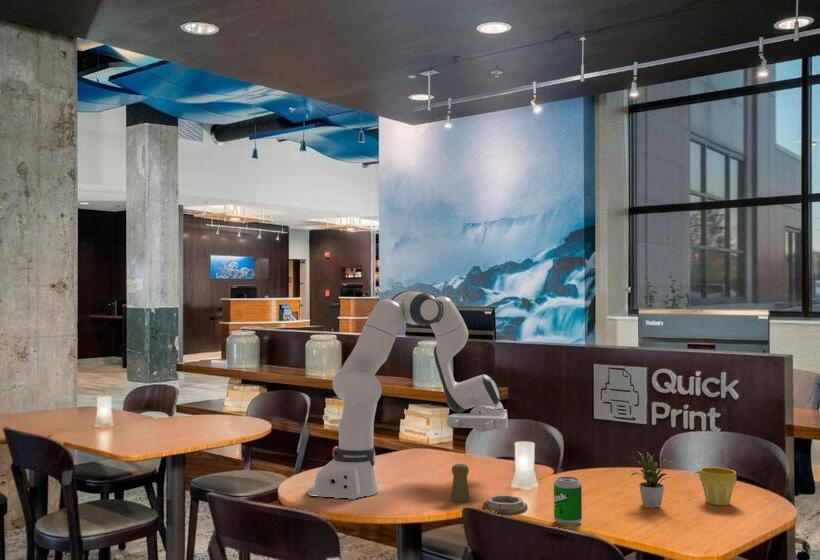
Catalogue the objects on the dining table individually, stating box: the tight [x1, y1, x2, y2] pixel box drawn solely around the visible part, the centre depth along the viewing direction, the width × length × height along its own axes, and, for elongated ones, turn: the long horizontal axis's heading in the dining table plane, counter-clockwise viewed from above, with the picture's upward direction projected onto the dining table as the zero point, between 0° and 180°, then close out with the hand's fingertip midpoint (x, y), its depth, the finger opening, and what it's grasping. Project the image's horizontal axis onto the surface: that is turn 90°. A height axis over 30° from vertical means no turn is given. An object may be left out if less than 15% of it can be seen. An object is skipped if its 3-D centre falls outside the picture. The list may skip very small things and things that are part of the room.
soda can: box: [553, 476, 583, 527], centre depth 211 cm, size 8×8×12 cm
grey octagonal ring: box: [482, 494, 528, 515], centre depth 225 cm, size 13×13×2 cm
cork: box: [450, 463, 471, 504], centre depth 234 cm, size 6×6×11 cm
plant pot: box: [698, 466, 737, 507], centre depth 231 cm, size 10×10×10 cm
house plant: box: [625, 451, 674, 508], centre depth 229 cm, size 14×14×16 cm
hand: (471, 425), depth 245 cm, fingers open, 8 cm apart
